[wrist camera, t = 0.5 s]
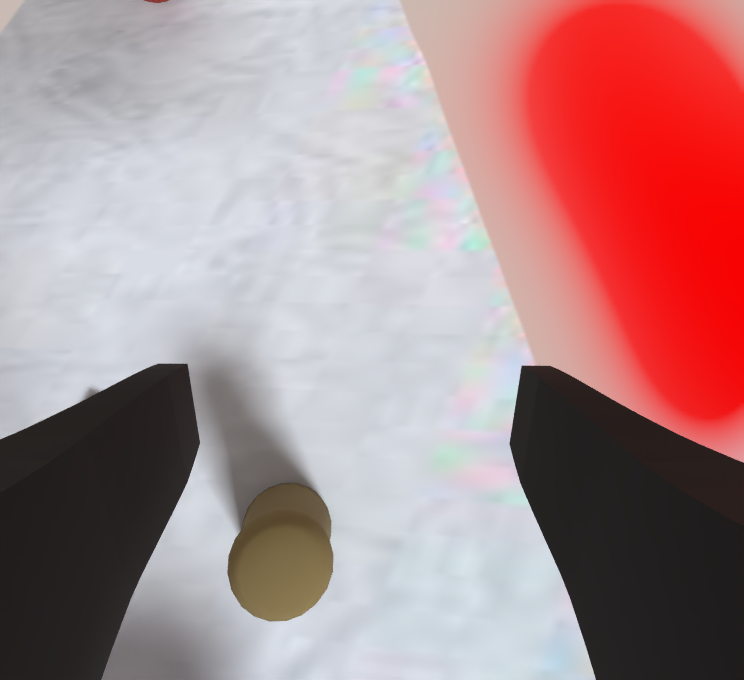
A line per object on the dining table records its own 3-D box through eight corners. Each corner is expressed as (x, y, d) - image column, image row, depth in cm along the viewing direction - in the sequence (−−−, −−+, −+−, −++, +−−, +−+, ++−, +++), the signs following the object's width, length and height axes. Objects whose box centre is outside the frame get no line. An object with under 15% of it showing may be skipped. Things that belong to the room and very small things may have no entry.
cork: (304, 592, 33) (304, 666, 23) (224, 549, 33) (187, 604, 22) (346, 508, 35) (366, 541, 24) (271, 467, 34) (256, 481, 24)
